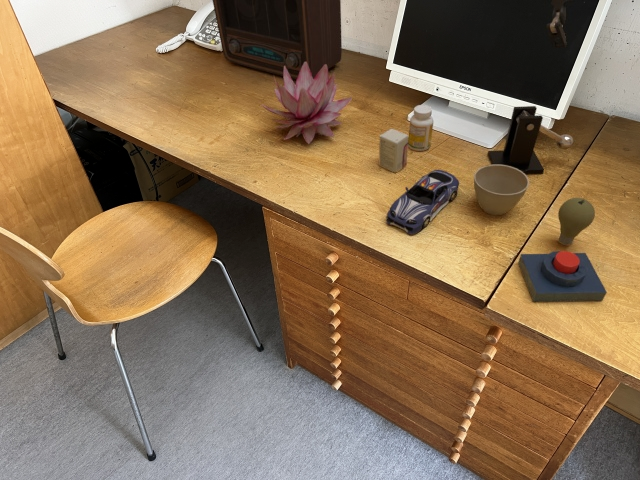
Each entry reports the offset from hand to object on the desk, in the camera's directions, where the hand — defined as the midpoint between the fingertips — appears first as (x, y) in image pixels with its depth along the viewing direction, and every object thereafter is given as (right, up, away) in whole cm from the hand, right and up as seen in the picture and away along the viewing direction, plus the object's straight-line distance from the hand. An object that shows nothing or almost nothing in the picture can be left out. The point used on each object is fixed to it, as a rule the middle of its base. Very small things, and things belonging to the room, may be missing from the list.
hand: (565, 68), depth 102 cm
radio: (-65, +19, +51) cm, 85 cm away
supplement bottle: (-29, -14, +13) cm, 34 cm away
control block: (-12, -44, -21) cm, 50 cm away
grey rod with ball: (-5, -15, 0) cm, 16 cm away
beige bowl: (-17, -30, -6) cm, 35 cm away
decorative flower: (-56, -9, +21) cm, 60 cm away
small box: (-36, -20, +7) cm, 42 cm away
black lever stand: (-9, -20, +5) cm, 22 cm away
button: (-12, -41, -23) cm, 49 cm away
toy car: (-31, -30, -4) cm, 44 cm away
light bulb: (-8, -38, -14) cm, 41 cm away
